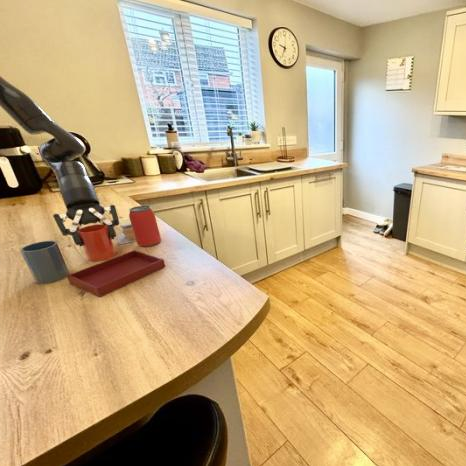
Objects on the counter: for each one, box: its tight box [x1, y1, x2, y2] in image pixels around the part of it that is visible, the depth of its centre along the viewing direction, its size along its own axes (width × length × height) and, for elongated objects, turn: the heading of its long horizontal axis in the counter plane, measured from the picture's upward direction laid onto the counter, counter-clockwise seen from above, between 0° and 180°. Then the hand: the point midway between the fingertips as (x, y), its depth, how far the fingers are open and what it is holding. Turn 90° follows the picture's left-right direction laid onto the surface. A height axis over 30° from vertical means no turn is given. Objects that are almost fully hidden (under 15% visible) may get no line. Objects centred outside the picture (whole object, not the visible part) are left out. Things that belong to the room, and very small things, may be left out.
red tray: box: [66, 249, 166, 298], centre depth 76 cm, size 16×13×2 cm
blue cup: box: [20, 240, 71, 285], centre depth 73 cm, size 6×6×9 cm
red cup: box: [78, 223, 117, 262], centre depth 84 cm, size 6×6×9 cm
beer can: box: [128, 205, 162, 247], centre depth 92 cm, size 7×7×12 cm
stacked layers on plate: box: [116, 218, 137, 245], centre depth 98 cm, size 10×9×6 cm
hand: (97, 241), depth 82 cm, fingers closed on red cup, 6 cm apart
